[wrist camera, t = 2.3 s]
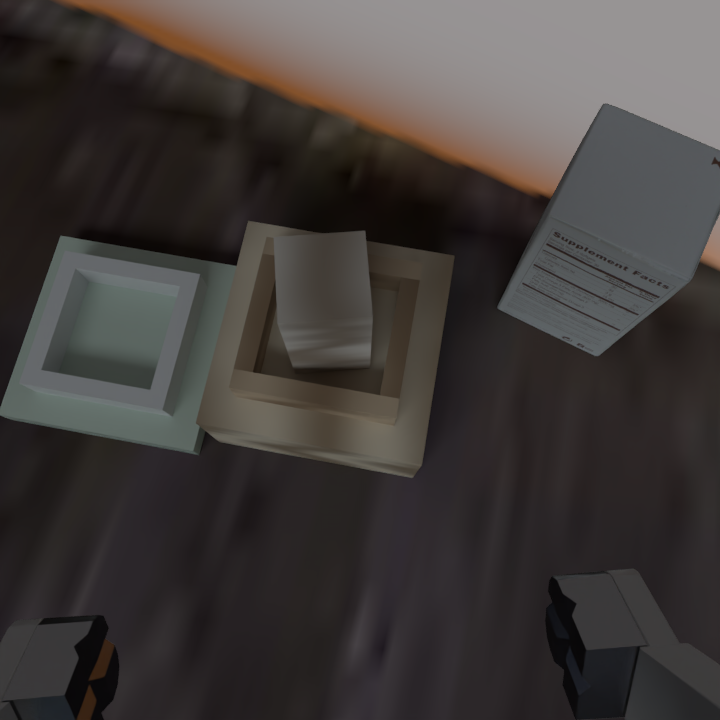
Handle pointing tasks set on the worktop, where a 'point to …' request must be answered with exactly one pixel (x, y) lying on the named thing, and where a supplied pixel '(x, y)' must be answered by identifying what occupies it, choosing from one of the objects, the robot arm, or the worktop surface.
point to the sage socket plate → (121, 345)
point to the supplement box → (617, 232)
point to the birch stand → (335, 388)
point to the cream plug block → (324, 300)
